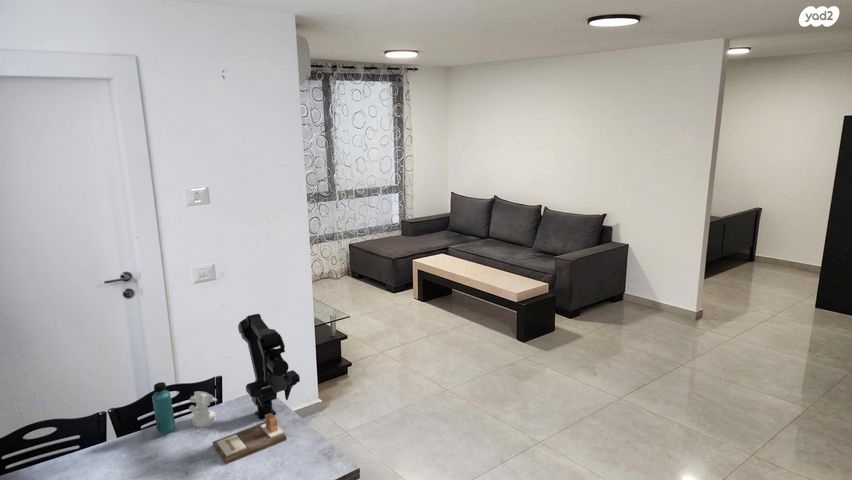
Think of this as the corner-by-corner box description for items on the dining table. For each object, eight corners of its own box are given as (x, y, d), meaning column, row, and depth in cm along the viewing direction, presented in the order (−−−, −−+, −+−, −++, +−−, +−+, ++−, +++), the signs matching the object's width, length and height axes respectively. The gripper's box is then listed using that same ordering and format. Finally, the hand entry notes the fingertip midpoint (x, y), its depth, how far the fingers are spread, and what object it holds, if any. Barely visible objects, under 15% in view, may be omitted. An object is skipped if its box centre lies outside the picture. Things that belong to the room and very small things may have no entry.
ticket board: (213, 445, 193) (212, 439, 193) (271, 423, 207) (270, 418, 206) (225, 464, 183) (225, 458, 182) (286, 440, 196) (285, 434, 195)
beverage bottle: (179, 427, 205) (173, 379, 200) (169, 437, 198) (162, 388, 194) (163, 426, 206) (156, 379, 201) (153, 436, 199) (146, 388, 195)
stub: (260, 426, 202) (259, 413, 200) (273, 422, 205) (271, 408, 204) (271, 438, 194) (269, 424, 193) (283, 433, 197) (282, 420, 196)
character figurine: (187, 422, 208) (184, 394, 206) (209, 411, 216) (206, 384, 213) (200, 429, 203) (197, 401, 201) (222, 418, 211) (219, 390, 208)
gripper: (254, 381, 184) (258, 421, 188) (304, 366, 195) (307, 404, 199) (243, 369, 193) (247, 408, 197) (292, 355, 204) (295, 392, 207)
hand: (274, 403), depth 200 cm, fingers open, 9 cm apart
